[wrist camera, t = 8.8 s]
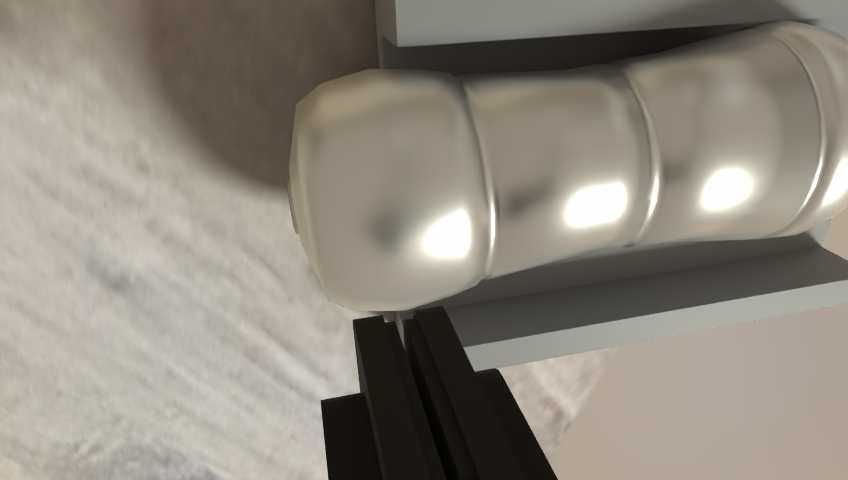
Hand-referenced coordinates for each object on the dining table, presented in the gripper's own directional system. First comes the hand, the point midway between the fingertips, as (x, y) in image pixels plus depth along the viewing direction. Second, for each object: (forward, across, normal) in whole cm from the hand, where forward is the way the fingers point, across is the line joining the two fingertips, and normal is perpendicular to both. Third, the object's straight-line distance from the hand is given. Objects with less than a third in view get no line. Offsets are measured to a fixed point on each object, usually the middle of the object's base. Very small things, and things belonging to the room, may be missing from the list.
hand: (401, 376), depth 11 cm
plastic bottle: (+6, +2, -1) cm, 7 cm away
